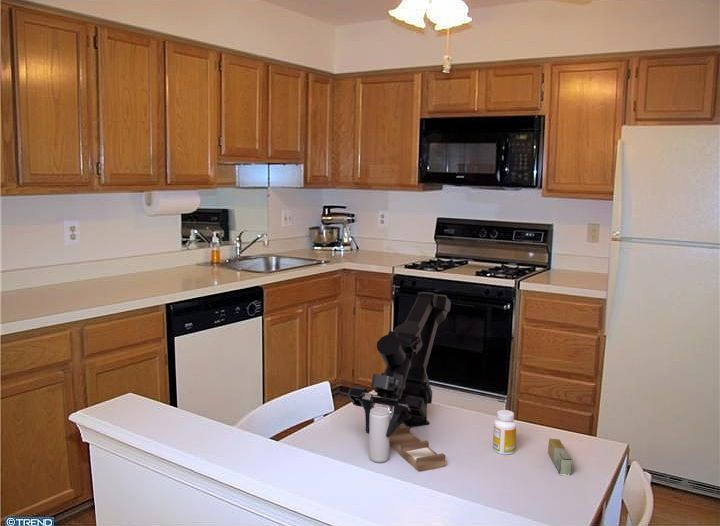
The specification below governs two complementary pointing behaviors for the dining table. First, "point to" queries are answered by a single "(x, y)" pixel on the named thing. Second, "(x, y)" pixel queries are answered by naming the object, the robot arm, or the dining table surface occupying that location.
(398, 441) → the walnut rail
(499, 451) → the supplement bottle
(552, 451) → the medication box
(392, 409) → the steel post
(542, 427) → the dining table surface
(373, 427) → the beverage can
